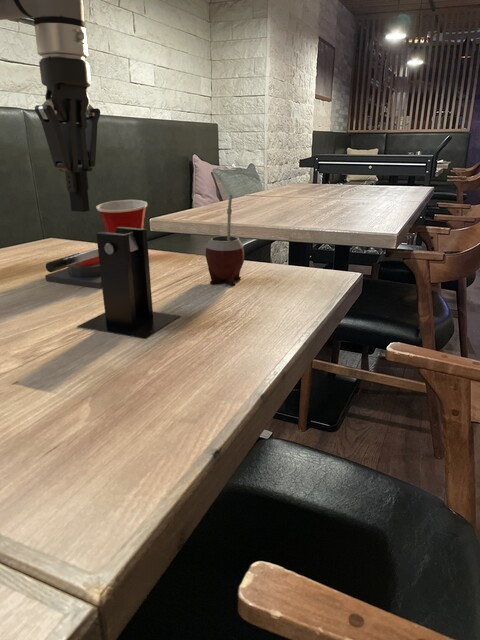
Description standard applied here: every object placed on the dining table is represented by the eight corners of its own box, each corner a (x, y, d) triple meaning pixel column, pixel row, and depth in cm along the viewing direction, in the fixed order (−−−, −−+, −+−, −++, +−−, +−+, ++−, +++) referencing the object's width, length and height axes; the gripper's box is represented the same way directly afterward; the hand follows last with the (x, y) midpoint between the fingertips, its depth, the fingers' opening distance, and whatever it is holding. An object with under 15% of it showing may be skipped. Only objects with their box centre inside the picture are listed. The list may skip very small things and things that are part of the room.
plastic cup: (91, 262, 106) (85, 205, 101) (117, 251, 115) (112, 199, 111) (136, 265, 103) (132, 207, 98) (159, 254, 112) (156, 200, 108)
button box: (46, 287, 88) (43, 265, 87) (84, 273, 97) (81, 253, 96) (100, 295, 84) (98, 272, 83) (135, 279, 93) (133, 259, 91)
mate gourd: (217, 289, 87) (215, 202, 81) (198, 278, 93) (195, 197, 88) (253, 282, 90) (253, 199, 85) (232, 273, 97) (231, 194, 91)
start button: (71, 266, 88) (70, 256, 88) (88, 260, 92) (87, 251, 91) (91, 268, 87) (90, 258, 86) (107, 262, 90) (106, 253, 90)
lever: (49, 276, 68) (42, 260, 68) (78, 266, 73) (72, 251, 73) (120, 255, 62) (113, 237, 62) (147, 246, 67) (141, 229, 67)
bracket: (78, 334, 67) (64, 234, 63) (118, 313, 75) (109, 222, 70) (145, 346, 63) (136, 240, 58) (180, 323, 71) (175, 227, 66)
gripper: (52, 51, 70) (71, 217, 79) (109, 63, 82) (120, 207, 90) (13, 54, 73) (35, 214, 82) (73, 65, 84) (88, 204, 93)
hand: (80, 210), depth 86 cm, fingers closed
